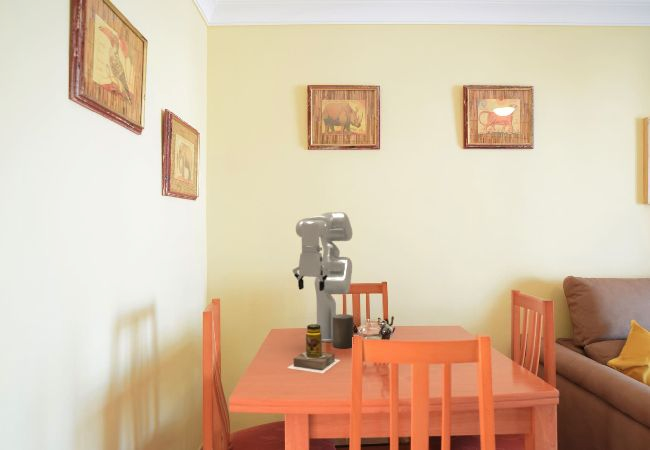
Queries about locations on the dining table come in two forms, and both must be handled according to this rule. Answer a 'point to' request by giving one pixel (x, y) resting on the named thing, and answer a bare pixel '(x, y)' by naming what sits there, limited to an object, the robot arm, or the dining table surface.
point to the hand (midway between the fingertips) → (311, 289)
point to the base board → (314, 369)
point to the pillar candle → (342, 331)
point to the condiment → (313, 342)
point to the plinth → (314, 361)
